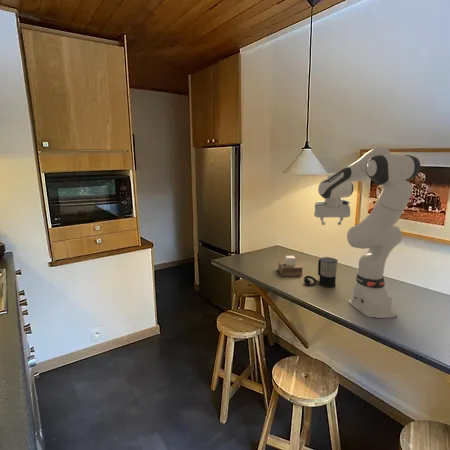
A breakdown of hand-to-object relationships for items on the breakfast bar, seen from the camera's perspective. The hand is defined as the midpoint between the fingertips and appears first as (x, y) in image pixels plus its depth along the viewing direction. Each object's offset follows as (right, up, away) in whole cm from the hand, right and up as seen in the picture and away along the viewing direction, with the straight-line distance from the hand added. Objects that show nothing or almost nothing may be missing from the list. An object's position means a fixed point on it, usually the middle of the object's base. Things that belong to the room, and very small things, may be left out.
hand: (331, 224), depth 185 cm
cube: (-22, -25, +9) cm, 34 cm away
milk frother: (-9, -34, -8) cm, 36 cm away
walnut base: (-22, -30, +11) cm, 38 cm away
